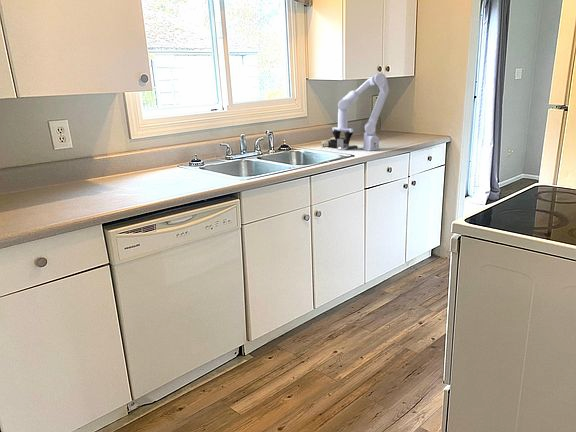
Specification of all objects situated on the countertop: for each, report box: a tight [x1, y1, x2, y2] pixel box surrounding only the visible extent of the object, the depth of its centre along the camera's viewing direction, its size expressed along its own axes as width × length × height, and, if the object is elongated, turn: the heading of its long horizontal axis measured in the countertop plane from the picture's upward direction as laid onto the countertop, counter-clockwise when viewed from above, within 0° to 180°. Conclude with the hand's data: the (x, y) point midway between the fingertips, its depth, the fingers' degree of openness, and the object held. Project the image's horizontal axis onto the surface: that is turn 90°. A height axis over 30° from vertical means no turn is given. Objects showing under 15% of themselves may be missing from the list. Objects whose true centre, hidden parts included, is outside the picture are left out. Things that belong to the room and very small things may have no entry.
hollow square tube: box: [337, 137, 350, 148], centre depth 280 cm, size 5×5×5 cm
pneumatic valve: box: [321, 136, 338, 149], centre depth 292 cm, size 6×12×12 cm
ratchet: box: [337, 144, 358, 151], centre depth 282 cm, size 13×6×4 cm, turn 118°
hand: (342, 143), depth 280 cm, fingers open, 7 cm apart
